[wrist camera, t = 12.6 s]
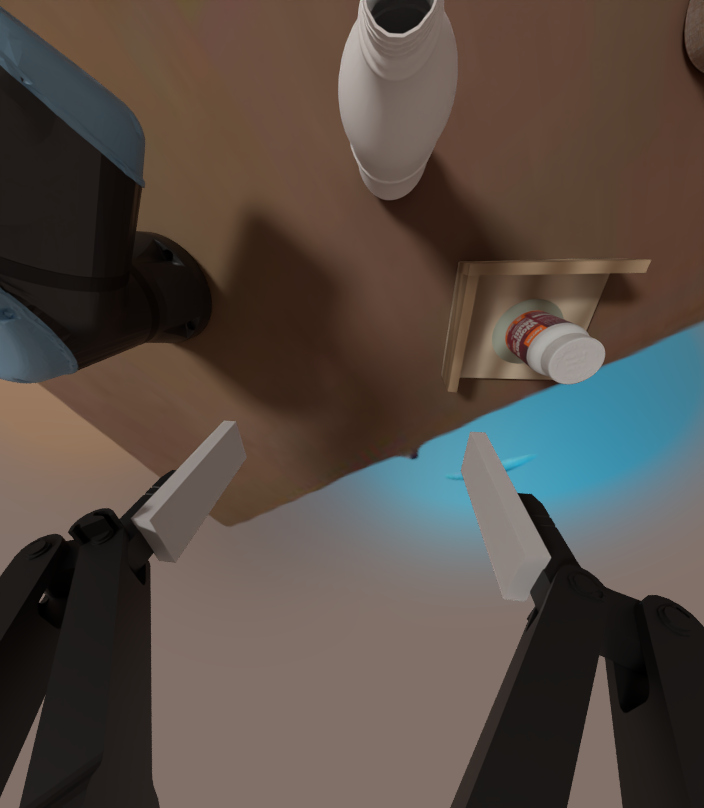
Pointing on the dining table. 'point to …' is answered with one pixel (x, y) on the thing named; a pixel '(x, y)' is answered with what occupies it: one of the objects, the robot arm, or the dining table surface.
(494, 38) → the dining table surface
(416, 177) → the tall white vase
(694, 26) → the planter
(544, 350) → the pill bottle
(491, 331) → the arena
